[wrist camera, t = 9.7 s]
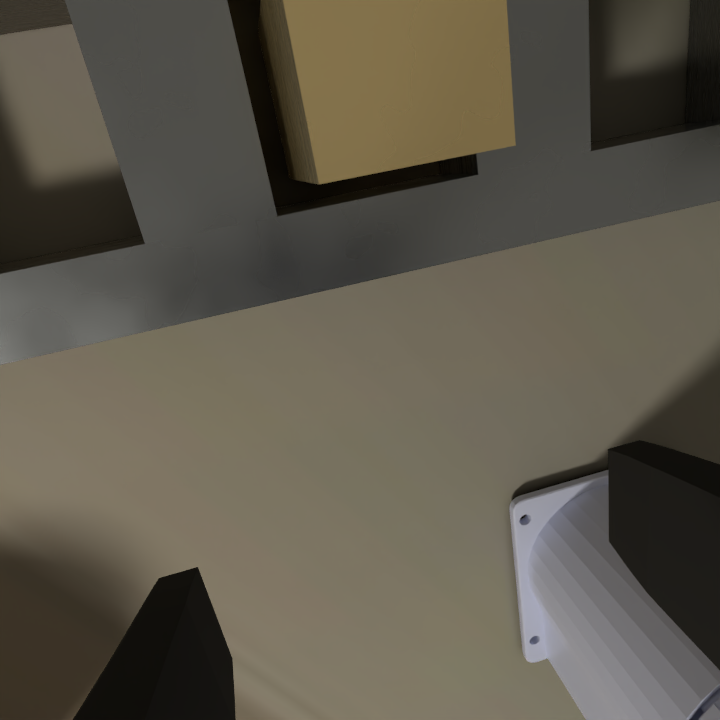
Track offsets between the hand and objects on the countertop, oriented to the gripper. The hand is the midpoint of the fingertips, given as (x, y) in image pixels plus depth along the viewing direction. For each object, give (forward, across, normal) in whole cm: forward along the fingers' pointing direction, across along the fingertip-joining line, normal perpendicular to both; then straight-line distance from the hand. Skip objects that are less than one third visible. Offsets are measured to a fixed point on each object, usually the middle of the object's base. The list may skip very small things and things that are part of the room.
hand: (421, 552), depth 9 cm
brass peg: (+10, -2, -8) cm, 13 cm away
